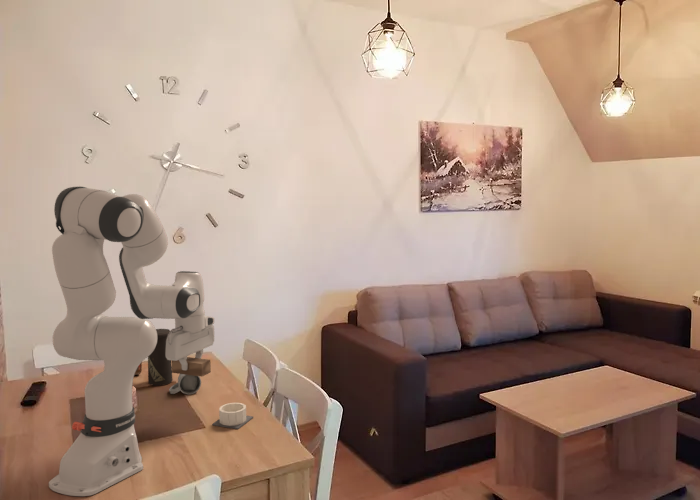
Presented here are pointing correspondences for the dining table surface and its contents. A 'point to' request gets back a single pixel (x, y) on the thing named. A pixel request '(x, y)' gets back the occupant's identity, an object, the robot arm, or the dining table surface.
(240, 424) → the mat
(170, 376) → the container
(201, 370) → the brown wooden block
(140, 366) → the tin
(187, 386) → the ceramic mug
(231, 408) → the bowl
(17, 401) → the dining table surface
